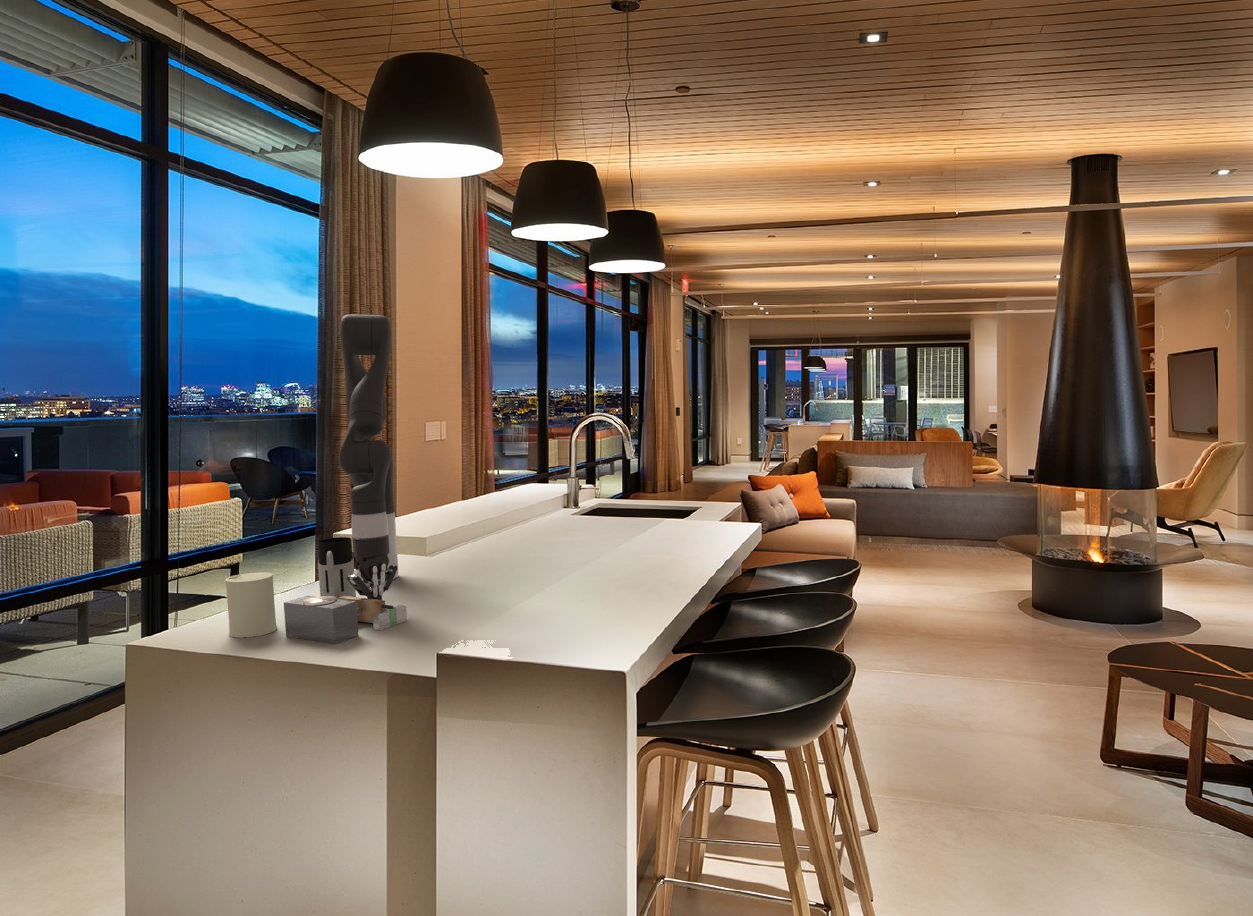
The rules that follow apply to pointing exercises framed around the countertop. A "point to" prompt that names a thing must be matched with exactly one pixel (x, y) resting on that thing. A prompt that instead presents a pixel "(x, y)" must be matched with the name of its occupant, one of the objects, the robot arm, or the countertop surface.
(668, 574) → the countertop surface
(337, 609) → the set of grey blocks
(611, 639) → the countertop surface
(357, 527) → the robot arm
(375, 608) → the tan wooden bar
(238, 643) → the countertop surface
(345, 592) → the black and white mug
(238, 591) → the can
